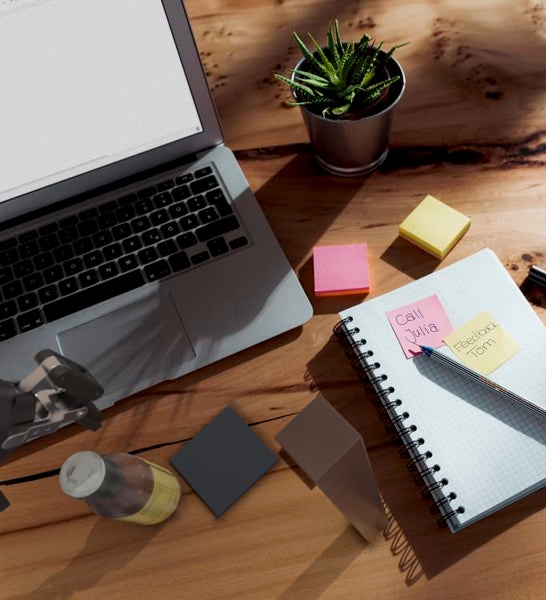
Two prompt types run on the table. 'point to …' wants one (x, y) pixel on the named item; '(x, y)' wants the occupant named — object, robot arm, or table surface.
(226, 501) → the mat
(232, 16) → the table surface
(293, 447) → the walnut post
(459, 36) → the table surface
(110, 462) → the sauce bottle
